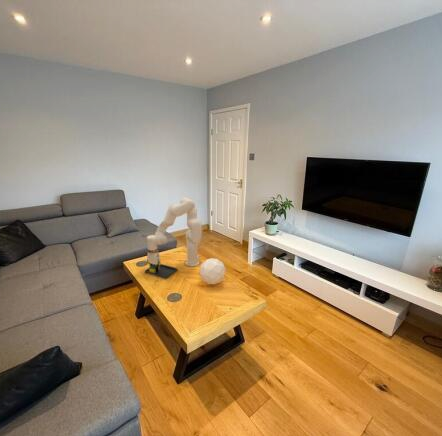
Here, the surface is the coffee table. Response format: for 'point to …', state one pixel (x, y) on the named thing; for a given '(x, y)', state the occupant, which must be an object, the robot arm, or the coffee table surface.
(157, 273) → the tray
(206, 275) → the geometric sphere
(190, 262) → the robot arm
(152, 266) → the sponge
